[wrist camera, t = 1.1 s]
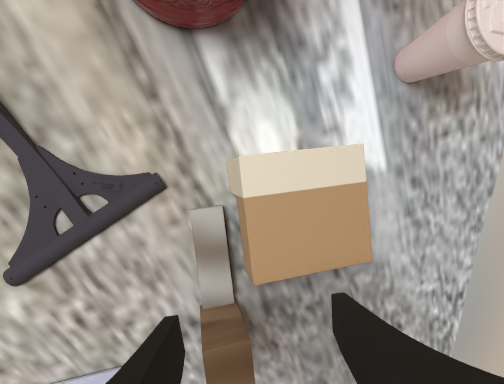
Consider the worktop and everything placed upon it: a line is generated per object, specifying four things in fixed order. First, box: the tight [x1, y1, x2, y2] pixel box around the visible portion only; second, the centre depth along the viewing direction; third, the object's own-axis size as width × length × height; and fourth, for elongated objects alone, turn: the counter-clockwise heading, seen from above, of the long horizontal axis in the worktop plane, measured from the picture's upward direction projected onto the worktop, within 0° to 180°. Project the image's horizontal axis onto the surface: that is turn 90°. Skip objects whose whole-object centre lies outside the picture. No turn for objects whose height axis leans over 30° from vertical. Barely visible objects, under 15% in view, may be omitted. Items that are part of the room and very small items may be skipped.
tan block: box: [227, 144, 373, 285], centre depth 23 cm, size 10×10×7 cm
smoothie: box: [394, 0, 504, 83], centre depth 22 cm, size 6×6×14 cm
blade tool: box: [190, 205, 255, 384], centre depth 22 cm, size 13×4×7 cm, turn 7°
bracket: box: [0, 102, 166, 286], centre depth 21 cm, size 14×15×3 cm
